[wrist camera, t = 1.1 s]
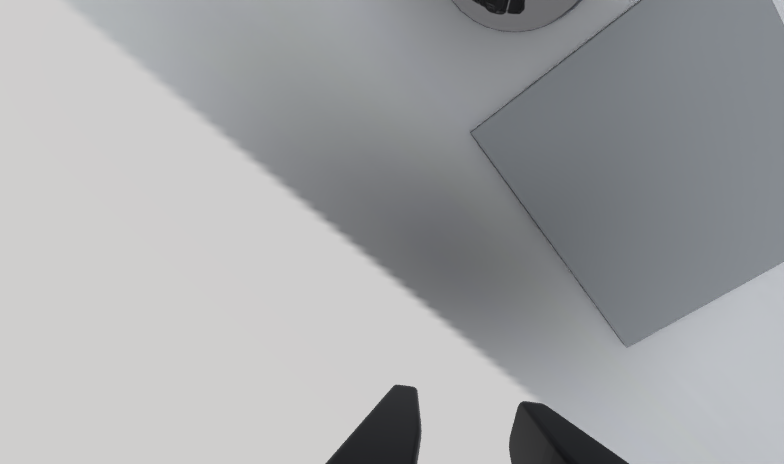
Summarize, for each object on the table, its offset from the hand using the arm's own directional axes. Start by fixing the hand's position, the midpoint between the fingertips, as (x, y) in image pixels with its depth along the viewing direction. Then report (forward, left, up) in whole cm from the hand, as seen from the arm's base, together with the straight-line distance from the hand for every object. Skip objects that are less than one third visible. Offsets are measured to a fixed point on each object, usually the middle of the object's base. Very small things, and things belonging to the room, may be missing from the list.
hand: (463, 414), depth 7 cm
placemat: (-5, +10, -13) cm, 17 cm away
